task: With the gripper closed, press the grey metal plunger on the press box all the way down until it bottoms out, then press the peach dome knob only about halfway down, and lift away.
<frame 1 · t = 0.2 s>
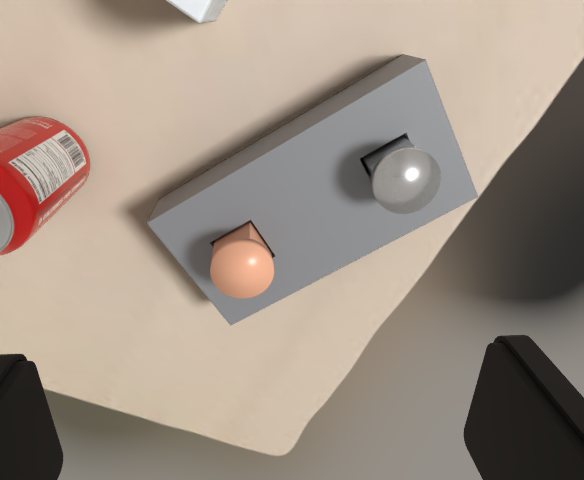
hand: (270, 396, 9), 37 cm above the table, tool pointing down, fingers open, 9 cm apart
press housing: (308, 187, 46), on the table
grey plunger: (396, 171, 39), point 7 cm above the table, slide at 0.0 cm
peach dome knob: (242, 255, 41), point 7 cm above the table, slide at 0.0 cm
soda can: (52, 154, 43), on the table
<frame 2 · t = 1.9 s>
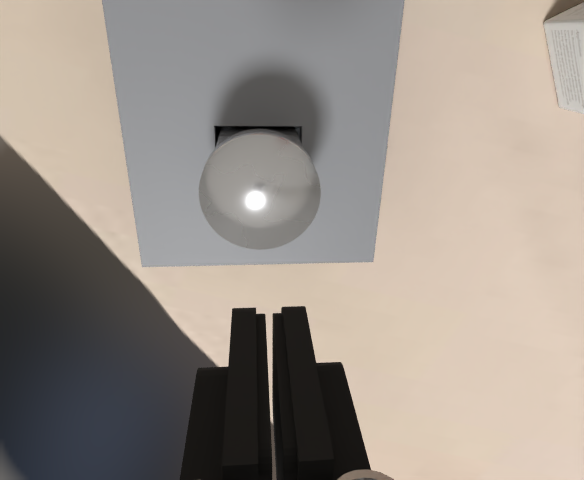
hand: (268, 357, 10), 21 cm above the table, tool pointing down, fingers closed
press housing: (255, 6, 26), on the table
grey plunger: (259, 174, 23), point 7 cm above the table, slide at 0.0 cm
skincare box: (578, 50, 28), on the table
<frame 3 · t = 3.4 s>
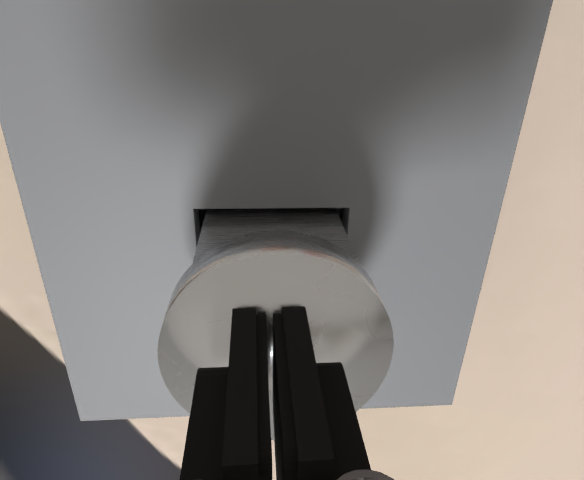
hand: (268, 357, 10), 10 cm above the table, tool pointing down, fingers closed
grey plunger: (273, 287, 13), point 7 cm above the table, slide at 0.4 cm, touching gripper
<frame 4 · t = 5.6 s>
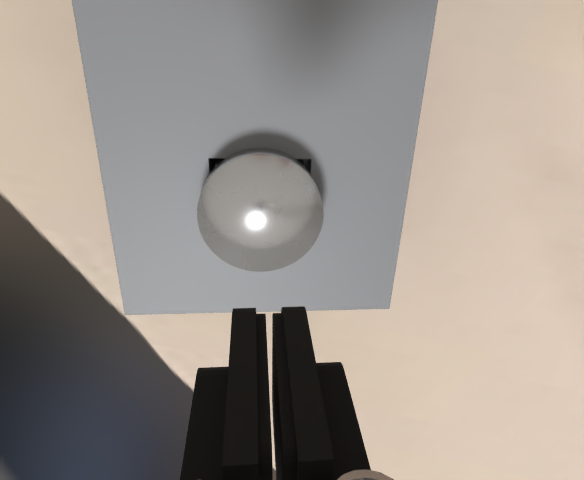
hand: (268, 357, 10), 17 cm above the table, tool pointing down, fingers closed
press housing: (258, 17, 22), on the table
grey plunger: (259, 193, 22), point 4 cm above the table, slide at 2.9 cm
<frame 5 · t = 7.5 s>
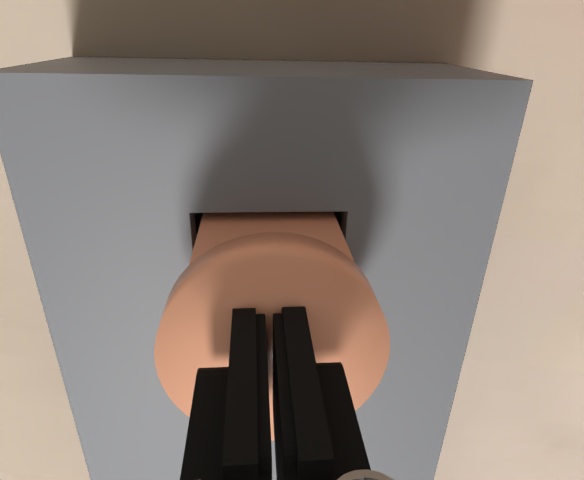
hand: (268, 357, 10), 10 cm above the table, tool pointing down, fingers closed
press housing: (266, 352, 23), on the table
peach dome knob: (270, 289, 13), point 7 cm above the table, slide at 0.6 cm, touching gripper
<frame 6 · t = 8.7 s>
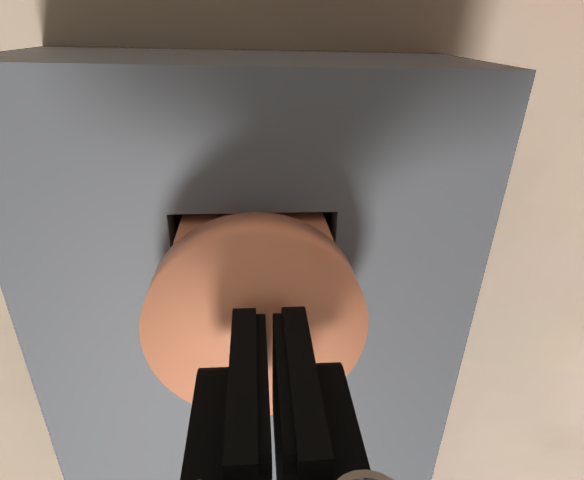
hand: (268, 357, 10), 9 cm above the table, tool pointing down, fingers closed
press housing: (255, 356, 22), on the table
peach dome knob: (254, 271, 13), point 5 cm above the table, slide at 1.9 cm
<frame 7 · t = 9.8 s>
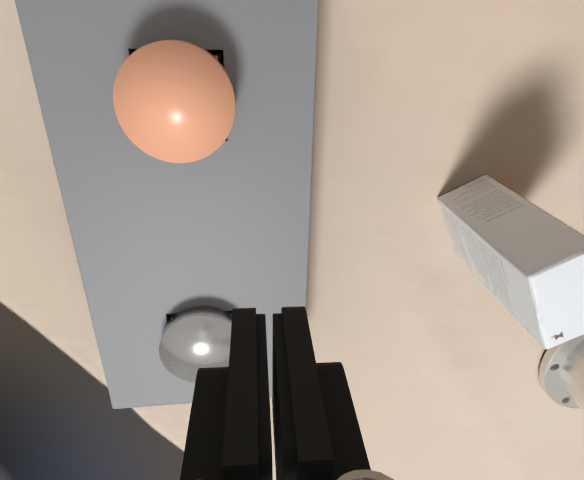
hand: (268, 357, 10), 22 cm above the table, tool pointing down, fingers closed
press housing: (201, 198, 32), on the table
grey plunger: (205, 322, 32), point 4 cm above the table, slide at 2.9 cm
peach dome knob: (182, 94, 23), point 5 cm above the table, slide at 1.9 cm
skincare box: (469, 213, 35), on the table
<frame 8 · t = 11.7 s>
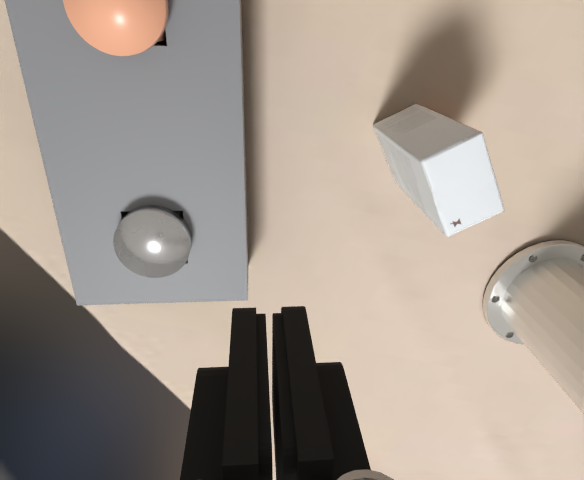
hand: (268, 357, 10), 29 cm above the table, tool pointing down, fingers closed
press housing: (158, 118, 36), on the table
grey plunger: (159, 228, 35), point 4 cm above the table, slide at 2.9 cm
peach dome knob: (128, 4, 27), point 5 cm above the table, slide at 1.9 cm
skincare box: (404, 142, 38), on the table
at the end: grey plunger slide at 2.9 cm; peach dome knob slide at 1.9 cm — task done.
